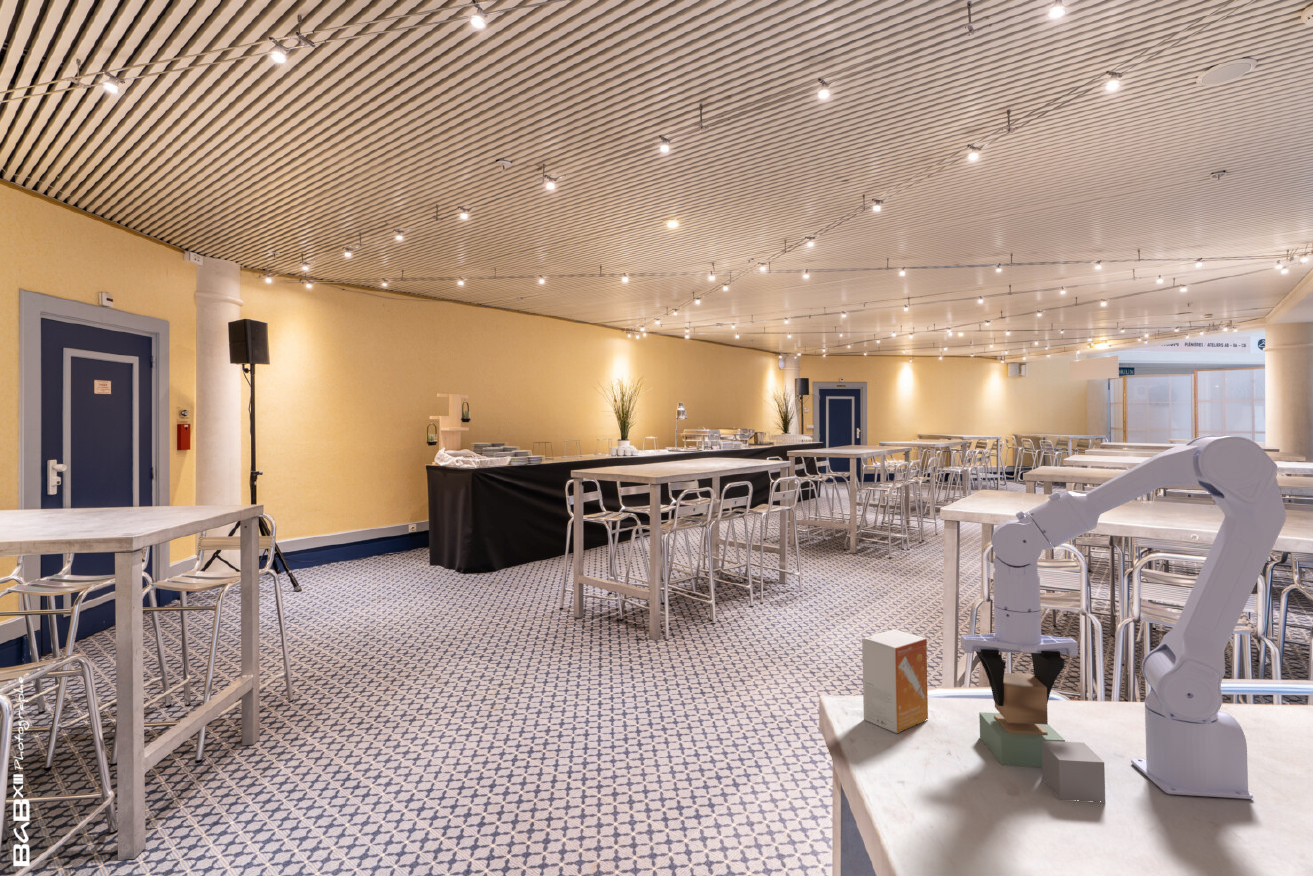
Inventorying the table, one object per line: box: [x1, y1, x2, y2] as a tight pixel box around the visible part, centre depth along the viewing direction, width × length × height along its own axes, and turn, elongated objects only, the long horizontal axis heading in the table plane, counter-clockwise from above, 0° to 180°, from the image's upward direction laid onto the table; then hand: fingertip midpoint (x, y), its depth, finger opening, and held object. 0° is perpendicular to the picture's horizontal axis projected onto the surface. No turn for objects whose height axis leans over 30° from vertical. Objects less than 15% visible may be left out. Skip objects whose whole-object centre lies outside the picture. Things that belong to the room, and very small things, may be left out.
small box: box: [861, 628, 929, 734], centre depth 100 cm, size 8×6×13 cm
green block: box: [978, 712, 1066, 768], centre depth 89 cm, size 8×8×4 cm
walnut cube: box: [994, 672, 1049, 725], centre depth 89 cm, size 5×5×5 cm
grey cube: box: [1041, 741, 1106, 803], centre depth 80 cm, size 5×5×5 cm
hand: (1019, 704), depth 89 cm, fingers closed on walnut cube, 5 cm apart
